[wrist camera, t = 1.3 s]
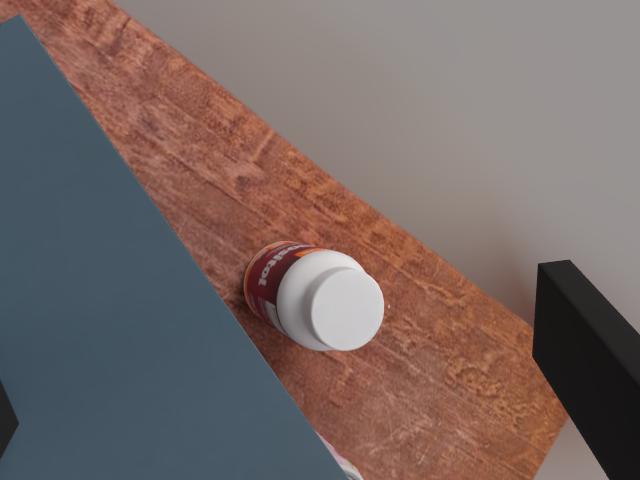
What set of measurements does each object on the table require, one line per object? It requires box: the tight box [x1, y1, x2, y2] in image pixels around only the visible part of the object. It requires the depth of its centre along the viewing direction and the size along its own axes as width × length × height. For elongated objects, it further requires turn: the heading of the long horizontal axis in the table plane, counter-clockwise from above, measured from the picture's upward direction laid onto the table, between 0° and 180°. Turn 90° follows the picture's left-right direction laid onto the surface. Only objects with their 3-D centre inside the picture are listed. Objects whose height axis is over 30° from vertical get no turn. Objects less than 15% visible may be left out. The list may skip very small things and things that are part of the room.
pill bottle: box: [244, 241, 384, 351], centre depth 39 cm, size 6×6×11 cm
